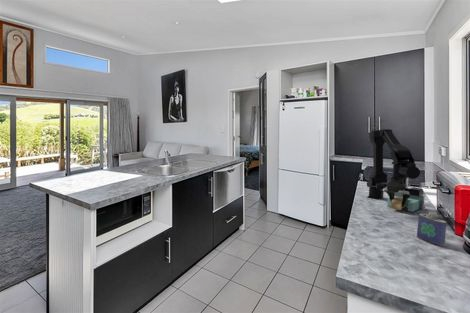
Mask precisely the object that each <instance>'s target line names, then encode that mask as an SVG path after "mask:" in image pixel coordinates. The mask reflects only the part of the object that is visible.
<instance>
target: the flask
mask: <svg viewBox="0 0 470 313" xmlns="http://www.w3.org/2000/svg"><path fill="white" fill-rule="evenodd" d="M435 216H436V213H435V212H428V214H427V213H419V214H418V219H417V231H416V238H417V239H419V240H422V241H423V242H426V243H429V244H431V245H434V246H437V247H439V248H444V247H445V246H446V232H447V225H448V224H447V223H448V222H447V221H445V220H442V219H439V218H435Z"/></svg>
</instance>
